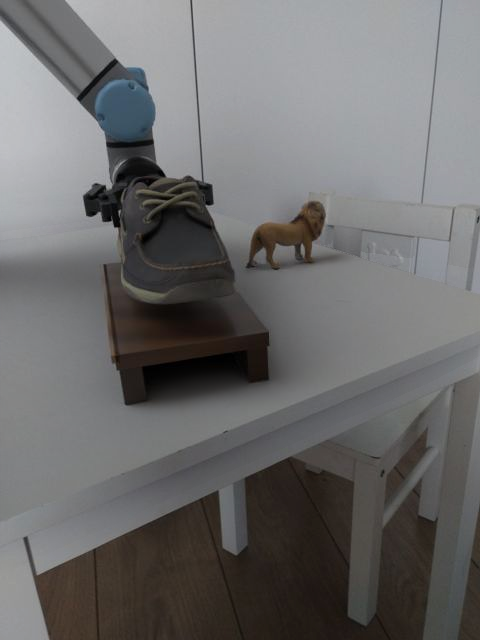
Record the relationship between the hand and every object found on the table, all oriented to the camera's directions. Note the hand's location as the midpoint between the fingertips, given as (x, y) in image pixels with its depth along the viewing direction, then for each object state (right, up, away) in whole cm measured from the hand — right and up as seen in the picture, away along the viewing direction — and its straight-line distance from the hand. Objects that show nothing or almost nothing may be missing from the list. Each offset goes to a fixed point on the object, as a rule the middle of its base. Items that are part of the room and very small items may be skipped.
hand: (157, 211), depth 64 cm
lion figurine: (+16, -2, +26) cm, 31 cm away
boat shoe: (+1, -8, -1) cm, 8 cm away
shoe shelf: (+2, -14, +2) cm, 14 cm away
